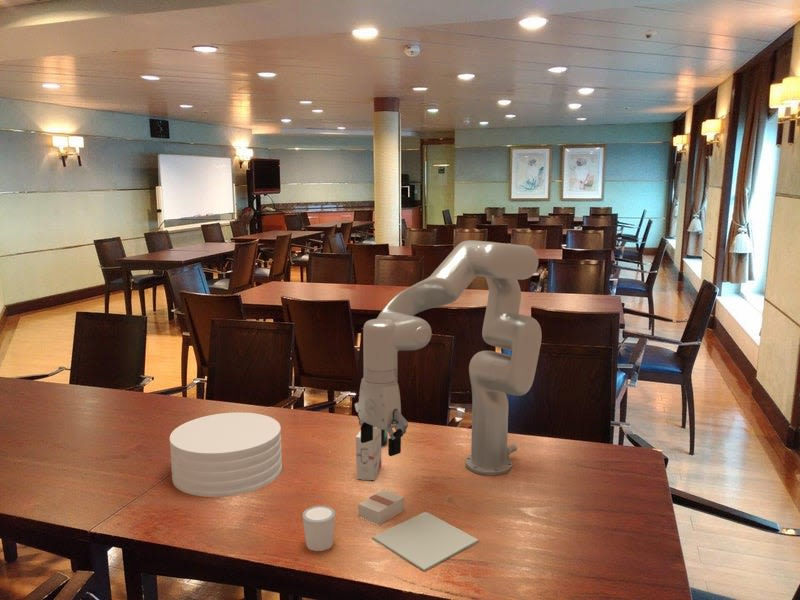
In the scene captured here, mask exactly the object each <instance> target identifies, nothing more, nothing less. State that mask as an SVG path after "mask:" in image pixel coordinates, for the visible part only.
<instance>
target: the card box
mask: <svg viewBox="0 0 800 600" xmlns="http://www.w3.org/2000/svg"><path fill="white" fill-rule="evenodd" d="M404 499H405V497H404V496H402V495H400V494H396V493H394V492H391V491H389V490H387V489H382V490H381V491H379V492H377V493H376V494H373V495H371V496H369V497H368V498H367V499H364V500H363V501H361V502H360V503H358V517H359V518H360V517H362V518H364V519H363V520H365V519H366V521H367V520H368V522H369V521H370V523H372V522H373V523H372V524H374V523H375V524H374V525H376V524H377V525H376V526H378V525H379V526H380V525H381V524H383V523H385V522H387V521H389V520H390V519H391V518H393V517H394V516H396V515H398V514H400V513H401V512H403V511H404V510H405V507H404V505H405V504H404V503H405V501H404ZM362 518H361V519H362ZM389 518H390V519H389ZM386 520H387V521H386Z"/></svg>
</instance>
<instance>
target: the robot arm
mask: <svg viewBox="0 0 800 600" xmlns="http://www.w3.org/2000/svg"><path fill="white" fill-rule="evenodd" d="M538 267H539V256H538V253H537V252H536V250H535V249H534V248H533V247H531V246H530V245H524V244H515V243H514V244H513V243H504V242H503V243H502V242H495V241H483V240H474V239H473V240H471V239H469V240H464V241H461V242H460V243H458V244H457V245H456V246H455V247H454V248H453V249H452V251H451V252H449V254H448V255H447V256H446V257H445V259H444V260H443V261H442V262H441V263H440V264H439V265H438V266H437V268H436V269H434V271H433V272H432V273H431V275H430V276H428V277H427V278H425V279H422V280H421V281H419V282H417V283H415V284H413V285H411V286H410V287H408V288H405V289H403V290H402V291H400V292H399V293H398V294H396V295H395V296H394V297H393V298H392V299H390V301H389V302H388V303H387V304H386V305H385V306H384V307H383V308H382V310H381V311H380V313H379V314H378V316H377V317H376V318H373V319H369V320H367V321H366V322H365V323H364V325H363V330H362V331H363V336H362V337H363V341H362V342H363V345H362V346H363V347H362V349H363V351H362V352H363V377H362V378H361V382H360V386H359V392H358V393H359V394H358V402H356V403H354V408H355V411H356V416H357V418H358V424H359V426H360V430H361V443H365V442H368V441H371V440H373V426H374V427H377V428H379V429H382V430H386V429H387V431H388V435H389V438H388V440H387V444H388V446H387V447H388V449H387V451H388V452H387V453H388V456H389V457H393V456H396V455H400V454H401V452H402V451H401V450H402V449H401V448H402V437H403V436H404V435H405V433H406V432H407V429H408V427H409V421H408V420H407V419H406V418H405V417H404V416H403V415H402V403H401V394H400V387H399V386H400V385H399V383H398V352H399V351H417V350H420V349H423V348H424V347H426V346H427V345H428V344H429V342H430V341H431V338H432V334H433V333H432V328H431V325H430V324H429V323H428V321H427V320H425V319H423V318H421V317H419V316H415V315H416V314H417V315H418V314H419V313H421V312H424V311H426V310H429V309H435V308H439V307H444V306H447V305H450V304H453V303H455V302H457V300H458V299H459V298H460V296H461V295H462V294H463V293H464V291H466V289H467V288H468V287H469V285H471V283H472V282H473V281H474V280H475V279H476V278H477V277H484V278H485V280H486V283H487V286H488V288H487V289H488V296H487V301H486V302H487V303H486V309H485V313H484V318H483V323H482V324H483V325H482V330H481V332H482V333H481V335H482V339H483V341H484V342H485V343H486V344H487V345H490V346H493V347H496V348H500V349H504V350H506V351H511V355H509V354H505V353H503V352H498V351H494V350H482V351H478V352H477V353H475V354H474V355H473V356H472V358H471V359H470V361H469V365H468V373H469V381H470V384H471V395H472V397H471V398H472V402H471V403H472V405H471V406H472V407H471V408H472V409H471V452H470V453H471V454H469V455H468V456H467V457H466V458H465V463H464V464H465V467H466V468H467V469H468V470H469V471H471V472H472V473H473V472H474V473H475V474H480V475H484V476H499V475H500V476H501V475H503V474H506V473H509V472H510V471H511V470H512V469H513V461H512V460H511V458H510V457H509V456H510V455H511V453H514V452H517V450H518V448H517V447H518V446H517V445H516V444H511V445H508V435H509V434H508V433H509V432H508V429H509V400H508V395H511V396H516V397H517V396H518V397H519V396H520V397H521V396H524V395H526V394H527V393H528V392H529V391H530V390H531V388H532V386H533V383H534V380H535V375H536V371H537V365H538V361H539V356H540V351H541V350H540V349H541V346H542V345H541V344H542V336H543V335H542V328H541V325H540V323H539V322H538V320H537V319H535V318H534V317H532V316H529V315H525V314H521V313H520V308H521V301H522V291H521V286H520V283H519V281H518V280H522V281H523V280H526V279H530V278H531V277H532V276H534V275H535V273H536V271H537V270H538ZM393 428H394V430H393Z"/></svg>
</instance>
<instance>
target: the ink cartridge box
mask: <svg viewBox="0 0 800 600" xmlns="http://www.w3.org/2000/svg"><path fill="white" fill-rule="evenodd" d="M355 455H356V456H355V457H356V463H355V464H356V480H359V479H361V480H360V481H362V480H363V481H371V480H373V481H375V480H376V478H377V477H378V474H379V473H380V471H381V469H380V468H382V447H381V429H379V428H377V427H374V426H373V440H371V441H368V442H365V443H361V429H360V430H359V432H357V435H356V436H355ZM379 470H380V471H379ZM378 472H379V473H378Z"/></svg>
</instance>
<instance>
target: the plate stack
mask: <svg viewBox="0 0 800 600" xmlns="http://www.w3.org/2000/svg"><path fill="white" fill-rule="evenodd" d="M281 429H282V428H281V424H280V423H279V421H278V420H276V419H275V418H273V417H271V416H268V415H265V414H259V413H255V412H225V413H215V414H210V415H205V416H202V417H201V416H200V417H197V418H194V419H192V420H191V419H190V420H189V421H186V422H185V423H182V424H181V425H179V426H177V427H176V428H175V429H173V430H172V432H171V433H170V436H169V445H170V449H169V450H170V462H171V463H170V464H171V481H172V484H173V486H174V487H175V488H176V489H177V490H179V491H181V492H183V493H185V494H189V495H192V496H196V497H198V496H199V497H205V498H206V497H208V498H209V497H210V498H216V497H217V498H218V497H219V498H220V497H230V496H237V495H241V494H246V493H249V492H253V491H256V490H258V489H261V488H263V487H265V486H268V484H270V483H272V482H273V481H275V480H276V479H277V478H278V477H279V475H280V474H281V472H282V470H283V469H282V468H283V462H282V459H283V457H282V436H281V435H282V434H281V433H282V431H281Z"/></svg>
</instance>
